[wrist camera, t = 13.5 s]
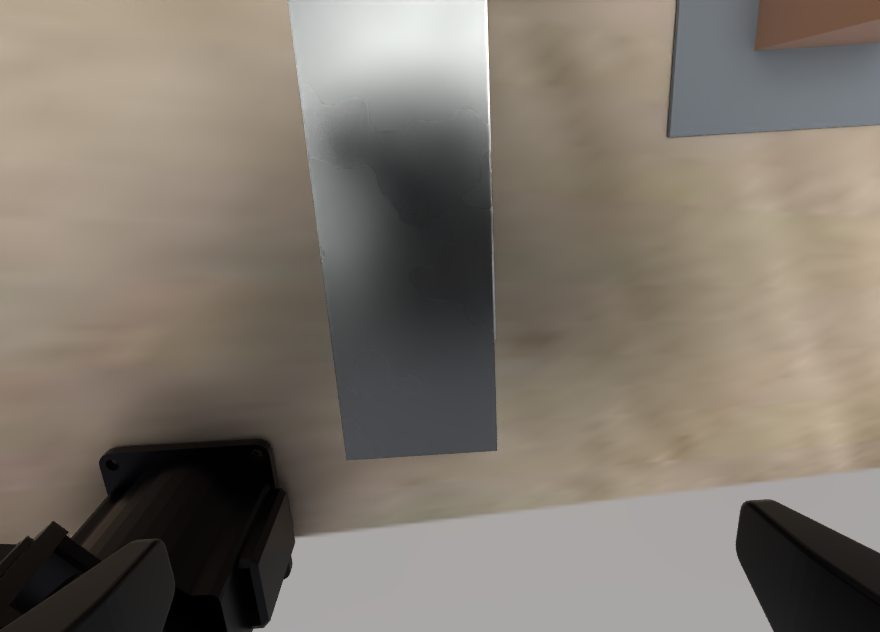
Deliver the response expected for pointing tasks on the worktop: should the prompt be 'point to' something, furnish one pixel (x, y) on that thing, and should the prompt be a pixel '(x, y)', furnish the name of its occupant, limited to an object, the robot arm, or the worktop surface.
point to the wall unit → (403, 217)
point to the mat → (763, 77)
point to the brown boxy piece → (816, 23)
